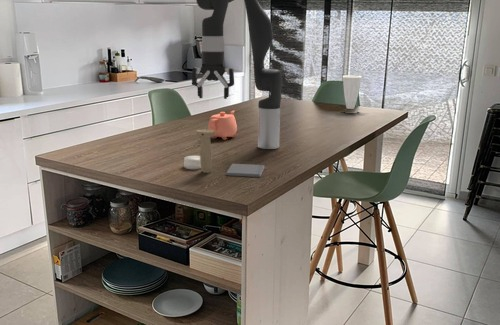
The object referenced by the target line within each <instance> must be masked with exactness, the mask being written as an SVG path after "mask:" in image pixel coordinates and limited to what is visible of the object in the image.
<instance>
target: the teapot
mask: <svg viewBox="0 0 500 325" xmlns="http://www.w3.org/2000/svg"><path fill="white" fill-rule="evenodd" d="M235 111H236V110H232V111H230V113H228V114H227V113H226V112H225V111H220V112H219V113H216V114H213V115H211V116H210V118H209V121H208V125H207V130H214V131H215V134H214V135H213V136H212V137H211V139H217V137H218V138H221V140H222V139H223V140H224V141H227V140H228V138H230V137H232V138H234V135H236V133H237V131H238V126H237V122H236V118H235V115H234V114H235ZM226 139H227V140H226ZM223 140H222V141H223Z"/></svg>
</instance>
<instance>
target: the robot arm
mask: <svg viewBox="0 0 500 325" xmlns="http://www.w3.org/2000/svg"><path fill="white" fill-rule="evenodd" d="M195 1H196V4H197V6H198V7H199V8H200V9H202V10H204V11H212V14H211V16H209V17H205V18H203V19H202V22H201V33H202V37H201V48H200V49H201V67H196V66H195V67H192V70H191V71H192V72H191V73H192V74H191V85H193V86H194V87H196V89H197V96H198V97H199V99H203V96H204V95H203V92H204V91H203V90H204V89H203V85H204V83H206V81H208V82H209V81H214V82H217V81H219V82H220V84H221V85H223V87H224V88H223V99H224V100H226V99H228V97H229V96H230V87H233V86H234V85H235V74H234V73H235V72H234V71H235V70H234V68H233V67H230V68H228V67H227V68H226V67H225V39H224V22H225V19H226V14H227V10H228V7H229V3H232V2H234V1H235V0H195ZM243 1H244V6H245V10H246V17H247V23H248V32H249V40H250V44H251V52H252V60H253V77H254V84H255V87H256V90H258V91H260V92H270V95H269V96H268V97H266V98H263V99H262V98H261V99H260V100H259V101H258V108H257V109H258V113H257V114H258V116H257V122H258V124H257V148H259V149H263V150H276V149H279V148H280V130H281V129H280V128H281V125H280V123H281V100H282V88H283V73H282V72H281V70H280V69H275V68H274V69H272V68H271V69H270V68H265V58H266V55H267V53H268V51H269V50H270V48H271V45H272V43H273V41H274V33H273V25H272V21H271V19H270V17H269V16H268V14H267V13H266V11H265V10H264V9H263V7H262V5H261V4H260V3H259V1H258V0H243ZM199 73H201V74H202V77H201V79H200V80H199V81H198V74H199ZM225 73H226V74H227V75H228V77H229V78H228V81H229V82H228V81H227V80H226V78H225V77H224V75H225Z"/></svg>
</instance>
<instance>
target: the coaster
mask: <svg viewBox="0 0 500 325" xmlns="http://www.w3.org/2000/svg"><path fill="white" fill-rule="evenodd" d="M264 169H265V164H262V165H261V164H247V163H232V164H231V165H230V166H229V168H228V170H227V171H226V172H225V174H226V176H228V177H229V176H233V177H249V178H250V177H251V178H252V177H253V178H254V177H255V178H261V177H262V174H263V172H264Z"/></svg>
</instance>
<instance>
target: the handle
mask: <svg viewBox="0 0 500 325" xmlns="http://www.w3.org/2000/svg"><path fill="white" fill-rule="evenodd" d="M195 133H196V136H198V137H200V151H199V152H200V155H199V156H200V161H201V167H202V168H200V169H201V172H202V173H204V174H206V173H210V172H211V170H212V169H211V168H212V146H211V139H212V136H213V135H214V134H215V131H214V130H208V129H205V128H204V129H197V130H196V132H195Z"/></svg>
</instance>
